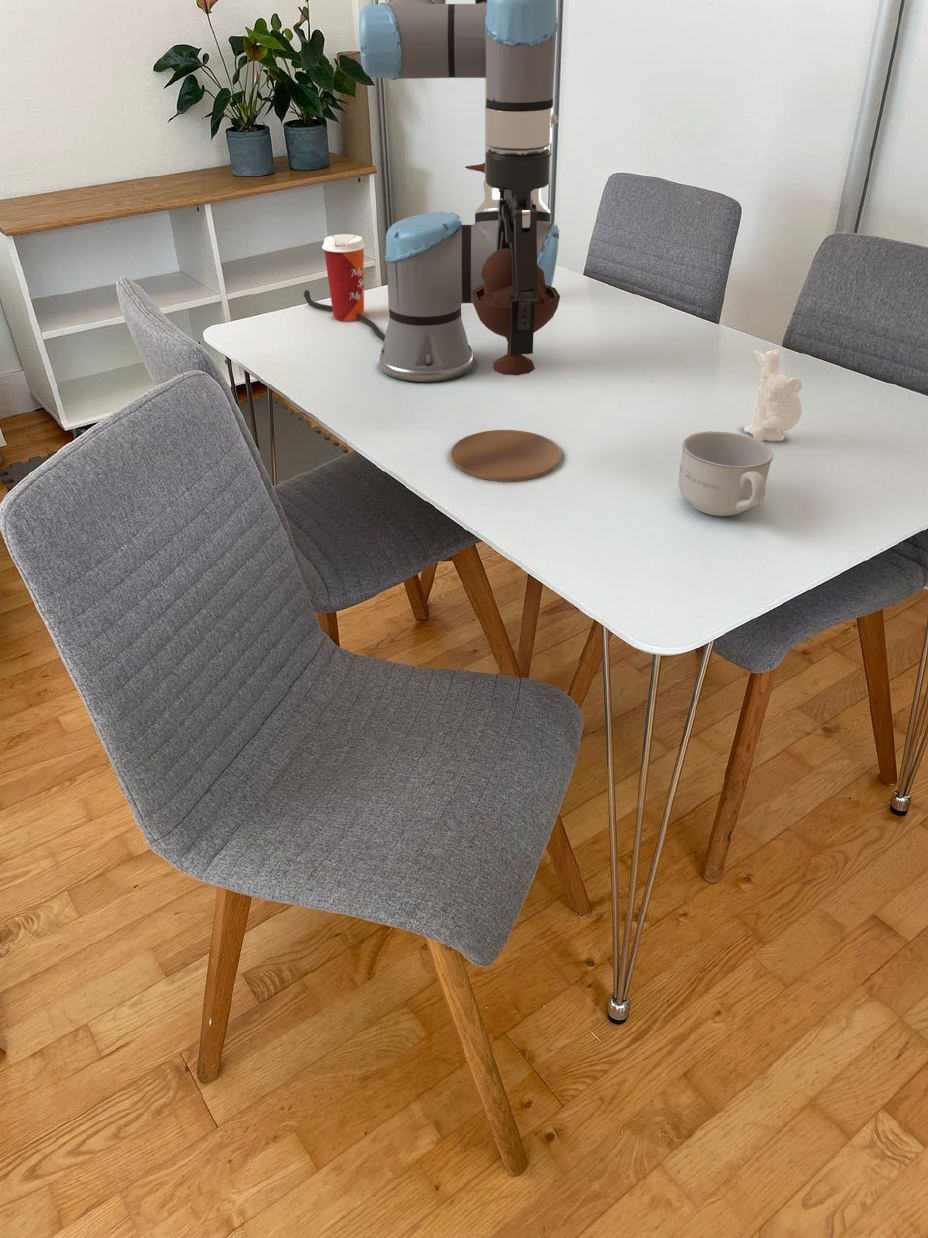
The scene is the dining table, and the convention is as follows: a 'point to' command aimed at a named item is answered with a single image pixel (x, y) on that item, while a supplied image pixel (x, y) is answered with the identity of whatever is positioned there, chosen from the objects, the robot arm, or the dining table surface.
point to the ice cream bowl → (509, 307)
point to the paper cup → (345, 275)
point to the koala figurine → (774, 400)
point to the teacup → (723, 472)
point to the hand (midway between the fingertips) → (514, 336)
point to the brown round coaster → (505, 455)
